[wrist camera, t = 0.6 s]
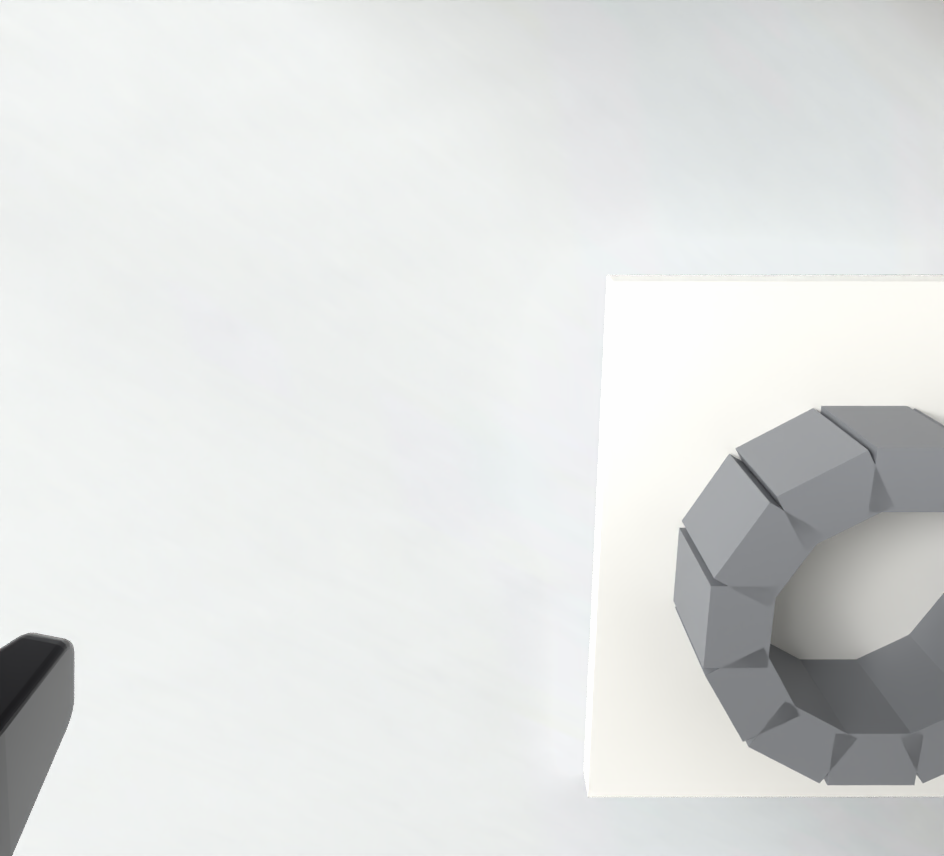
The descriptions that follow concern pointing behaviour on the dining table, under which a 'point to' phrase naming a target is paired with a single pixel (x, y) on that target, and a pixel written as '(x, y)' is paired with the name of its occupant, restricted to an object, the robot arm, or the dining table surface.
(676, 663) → the socket plate
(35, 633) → the robot arm
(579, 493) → the dining table surface
